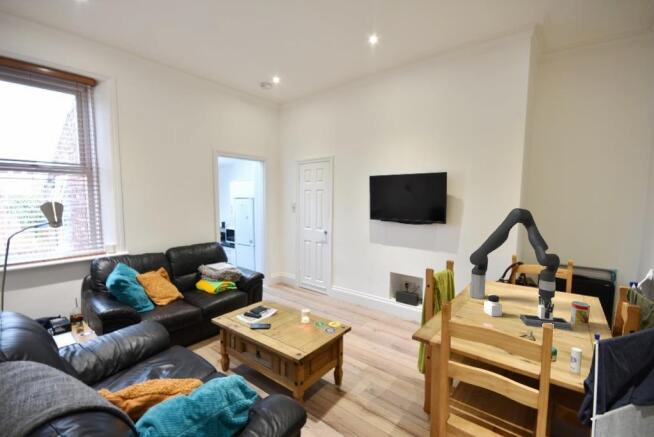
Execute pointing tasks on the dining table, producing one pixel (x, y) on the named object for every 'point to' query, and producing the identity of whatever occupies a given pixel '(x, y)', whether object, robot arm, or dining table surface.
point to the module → (543, 312)
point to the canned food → (580, 313)
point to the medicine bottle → (493, 306)
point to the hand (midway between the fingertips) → (545, 316)
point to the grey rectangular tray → (537, 322)
